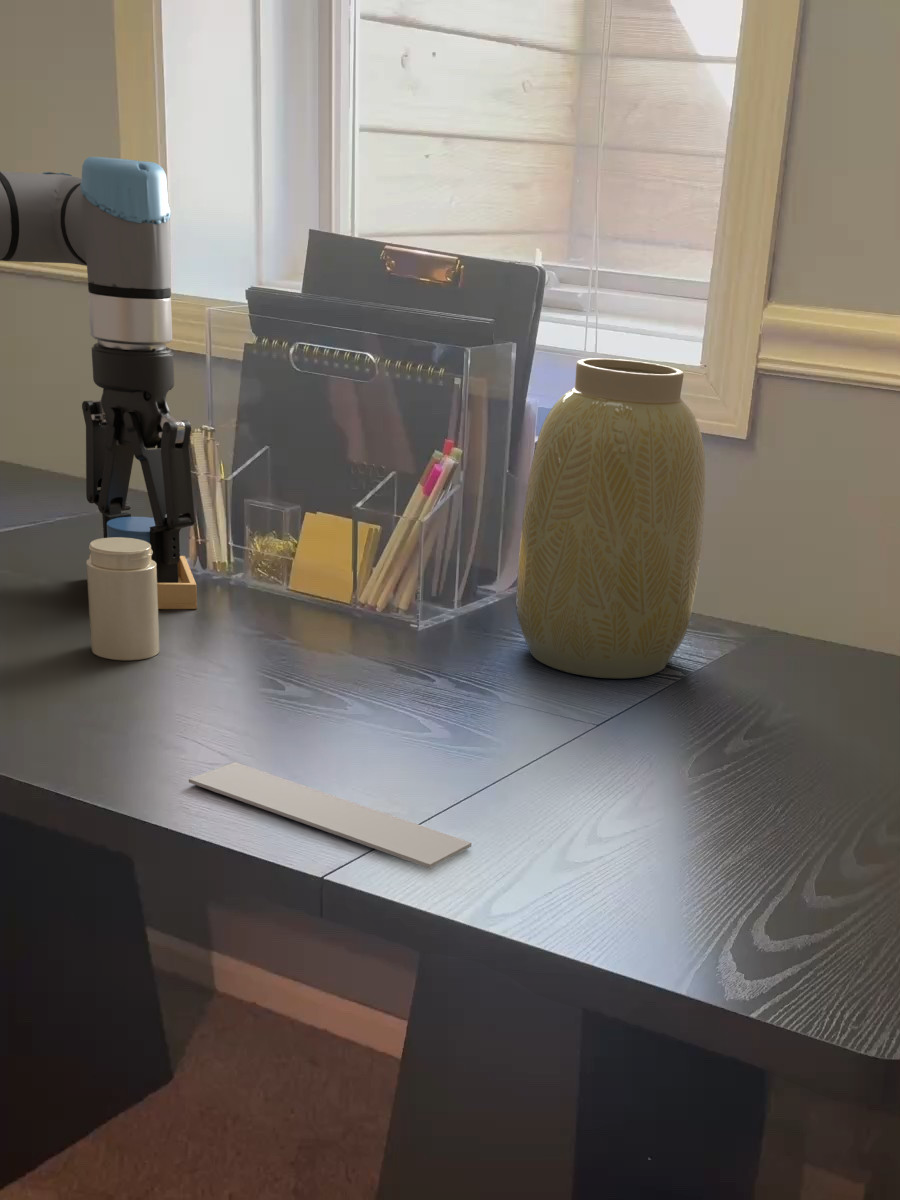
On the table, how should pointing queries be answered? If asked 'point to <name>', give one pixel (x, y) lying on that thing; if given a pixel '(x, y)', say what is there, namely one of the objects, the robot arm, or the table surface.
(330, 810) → the nameplate
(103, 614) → the jar
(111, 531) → the lid
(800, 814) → the table surface
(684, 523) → the vase
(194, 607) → the tray
